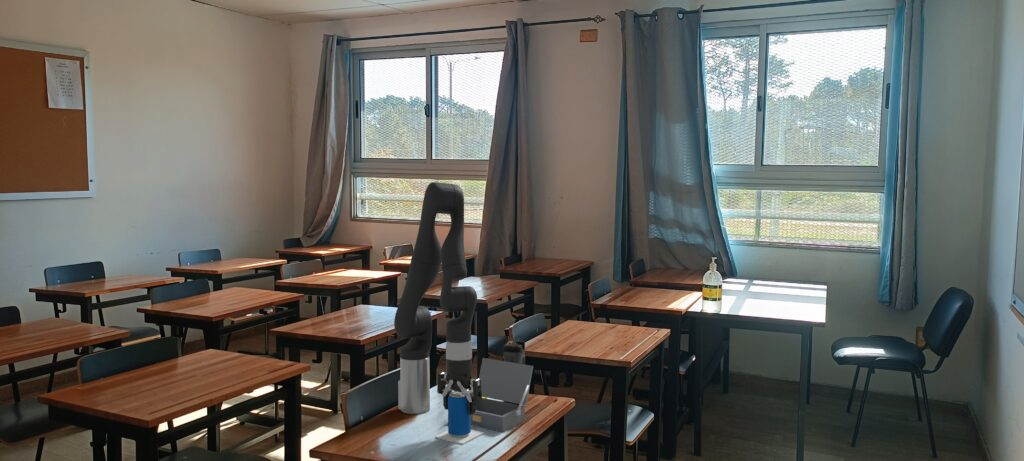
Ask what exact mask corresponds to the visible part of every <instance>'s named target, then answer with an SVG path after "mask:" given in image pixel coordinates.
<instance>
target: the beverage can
mask: <svg viewBox="0 0 1024 461" xmlns="http://www.w3.org/2000/svg"><path fill="white" fill-rule="evenodd" d="M468 402H469V401H468V399H467V397H466V396H464V394H463V392H459V391H452V392H451V393H449V397H448V410H447V423H448V424H447V430H448V433H449V434H450V435H451V436H453V437H465V436H467V435H468V434H469V433H470V432H471V430H472V427H471V426H472V425H471V415H469V414H468Z"/></svg>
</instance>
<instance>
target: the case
mask: <svg viewBox="0 0 1024 461" xmlns="http://www.w3.org/2000/svg"><path fill="white" fill-rule="evenodd" d="M481 360H482V362H481V365H480V371H479V376H478V378H480V379H481V390H482V397H487V399H486V398H482V399H480V400H477V401H476V411H475V412H474V414H472V415H471V426H474V427H478V428H482V429H486V430H490V431H495V432H498V433H505V432H507V431H508V430H510V429H513V428H514V427H515V426H517V425H519V424H521V423H523V422H525V417H526V416H525V413H526V412H525V410H526V409H525V408H526V407H525V406H527V404H528V399H529V393H530V387H531V381H532V376H533V370H534V365H528V364H525V365H524V364H518V363H512V362H506V361H504V360H500V359H493V358H486V357H482V359H481ZM504 401H507V402H512V403H517V404H519V405H516V404H511V403H506V402H504Z"/></svg>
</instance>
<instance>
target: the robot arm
mask: <svg viewBox="0 0 1024 461" xmlns="http://www.w3.org/2000/svg"><path fill="white" fill-rule="evenodd" d="M421 208H422V209H421V214H420V222H419V226H418V231H417V236H416V241H415V244H414V248H413V250H412V255H411V259H410V264H409V269H408V274H407V277H406V280H405V283H404V284H405V285H404V287H403V292H402V295H401V298H400V301H399V303H398V305H397V309H396V312H395V314H394V320H393V321H394V322H393V327H394V331H395V333H396V335H397V336H398V337H399V338H403V339H407V338H409V340H408V341H407V343H406V344H405V345H403V346H402V347H401V348H400V351H399V359H400V362H399V363H400V367H399V369H400V370H399V371H400V379H399V380H398V382H397V386H398V388H397V389H398V390H397V392H398V393H397V394H398V395H397V396H398V397H397V398H398V401H397V402H398V410H400V411H401V412H402V413H404V414H409V415H415V414H416V415H419V414H423V413H427V412H429V411H430V410H431V397H430V396H431V394H430V393H431V390H430V389H431V388H430V386H431V384H430V380H431V378H430V376H431V374H430V371H431V370H430V353H431V352H430V351H431V348H432V339H433V338H432V337H433V318H432V314H431V311H430V310H429V309H428V307H426V306H424V305H420V302H421V301H422V299H423V297H424V296H425V295H426V293H427V292H428V290H430V288H431V286H433V284H434V282H435V281H436V279H437V278H438V276H439V273H440V271H441V269H442V283H441V290H440V294H439V296H440V297H439V304H440V307H441V309H442V310H443V311H444V312H447V313H455V312H461V315H460V316H458V317H456V318H453V319H450V320H448V321H447V322H446V326H445V327H446V330H445V331H446V333H445V335H446V339H445V340H446V343H445V371H443V372H439V373H438V374H437V386H436V388H437V391H436V392H437V394H438V395H439V394H440V395H441V396H442V401H443V403H442V405H443V408H444V410H447V411H448V397H449V393H451V392H453V391H459V392H463V394H464V396H466V397H467V399H468V401H469V402H468V414H469V415H472V414H474V412H475V411H476V401H477V400H480V399H482V390H481V379H480V378H479V377H478V378H473V377H472V372H473V346H472V322H473V317H474V313H475V310H476V306H477V302H478V294H477V291H476V290H475V288H474V287H472V286H470V285H469V286H467V285H465V286H464V285H463V286H453V285H452V284H453V283H455V282H460V281H462V280H464V279H465V278H466V277H467V275H468V268H467V262H466V261H467V260H466V254H465V242H464V239H465V238H464V237H465V234H464V232H465V196H464V192H463V189H462V187H461V186H460V185H459V184H455V183H446V182H439V181H438V182H435V181H433V182H430V183H429V184H428V185H427V187H426V188H425V192H424V195H423V201H422V206H421ZM438 214H439V215H440V214H443V215H449V216H450V228H449V231H448V232H447V235H446V237H445V239H444V241H443V243H442V245H441V243H440V241H439V238H438V235H437V233H436V226H435V225H436V218H437V215H438ZM470 395H471V396H470Z"/></svg>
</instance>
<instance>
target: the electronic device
mask: <svg viewBox="0 0 1024 461" xmlns="http://www.w3.org/2000/svg"><path fill="white" fill-rule="evenodd" d="M503 361H506V362H512V363H518V364H524V365H526V342H525V341H524V340H519V339H518V340H517V339H510V340H508V341H507V342H506V343H505V344H504V345H503ZM503 402H506V403H511V404H516V405H519V404H517V403H512V402H507V401H503Z"/></svg>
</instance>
